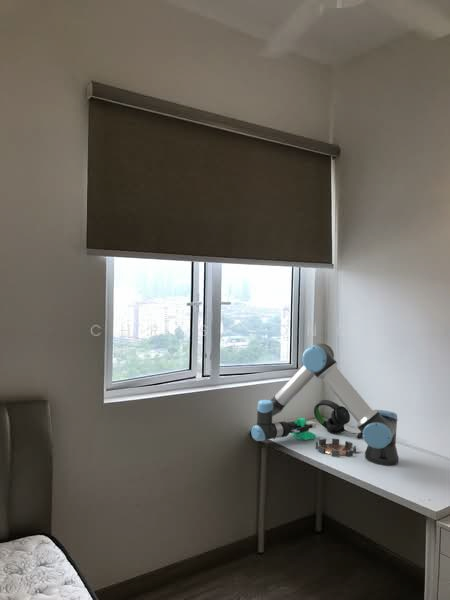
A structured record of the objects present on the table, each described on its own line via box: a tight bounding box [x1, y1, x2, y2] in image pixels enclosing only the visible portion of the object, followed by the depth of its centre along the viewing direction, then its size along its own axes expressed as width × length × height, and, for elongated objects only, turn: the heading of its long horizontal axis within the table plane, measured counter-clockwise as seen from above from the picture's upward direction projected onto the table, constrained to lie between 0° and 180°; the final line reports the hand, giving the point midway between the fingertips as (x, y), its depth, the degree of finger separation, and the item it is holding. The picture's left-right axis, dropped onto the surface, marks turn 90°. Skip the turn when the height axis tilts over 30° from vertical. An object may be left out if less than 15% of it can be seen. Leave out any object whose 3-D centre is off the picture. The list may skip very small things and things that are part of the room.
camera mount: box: [291, 417, 317, 441], centre depth 252 cm, size 12×8×10 cm, turn 30°
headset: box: [313, 399, 363, 439], centre depth 262 cm, size 18×14×29 cm
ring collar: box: [315, 437, 357, 458], centre depth 236 cm, size 19×19×2 cm
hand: (313, 424), depth 256 cm, fingers closed on camera mount, 2 cm apart
